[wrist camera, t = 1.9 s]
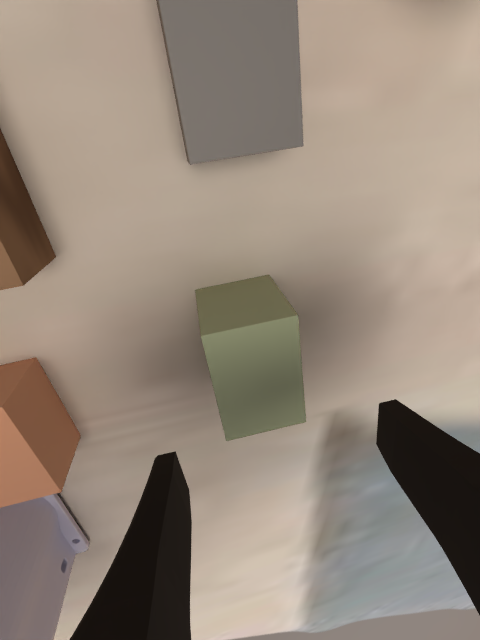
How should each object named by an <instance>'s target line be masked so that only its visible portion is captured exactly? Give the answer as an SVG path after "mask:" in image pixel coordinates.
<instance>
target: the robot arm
mask: <svg viewBox="0 0 480 640" xmlns="http://www.w3.org/2000/svg"><path fill="white" fill-rule="evenodd" d="M376 444H377V446H378V448H379V450H380V452H381V454H382V456H383V458H384V460H385V462H386V463H387V465H388V467H389V469H390V471H391V473H392V474H393V476H394V477H395V479H396V480H397V482H398V483H399V485H400V486H401V488H402V489H403V490H404V492H405V493H406V495H407V496H408V498H409V499H410V501H411V502H412V504H413V505H414V507H415V508H416V510H417V511H418V513H419V514H420V515H421V517H422V518H423V520H424V521H425V523H426V524H427V526H428V527H429V529H430V530H431V532H432V533H433V535H434V536H435V538H436V539H437V541H438V542H439V544H440V545H441V547H442V549H443V550H444V552H445V554H446V555H447V557H448V559H449V561H450V562H451V564H452V566H453V568H454V569H455V571H456V573H457V575H458V577H459V578H460V580H461V582H462V584H463V585H464V587H465V589H466V591H467V593H468V595H469V596H470V598H471V600H472V602H473V604H474V606H475V607H476V609H477V611H478V613H479V615H480V453H478V452H476V451H474V450H473V449H471V448H469V447H468V446H466V445H465V444H463V443H461V442H460V441H458V440H457V439H455V438H453V437H452V436H450V435H449V434H447V433H445V432H444V431H442V430H441V429H439V428H438V427H436V426H435V425H433V424H432V423H430V422H429V421H427V420H426V419H424V418H423V417H421V416H420V415H418V414H417V413H415V412H414V411H412V410H411V409H409V408H408V407H406V406H405V405H403V404H402V403H400V402H399V401H397V400H396V399H395V400H391V401H387V402H383V403H379V413H378V428H377V442H376ZM191 525H192V522H191V508H190V496H189V488H188V486H187V483H186V480H185V477H184V474H183V472H182V469H181V466H180V463H179V460H178V458H177V455H176V452H171V453H167V454H163V455H158V456H157V457H156V458H155V460H154V463H153V466H152V470H151V472H150V475H149V478H148V481H147V484H146V487H145V489H144V492H143V495H142V497H141V500H140V502H139V505H138V507H137V510H136V512H135V514H134V517H133V519H132V522H131V524H130V526H129V529H128V531H127V533H126V535H125V537H124V539H123V542H122V544H121V546H120V548H119V550H118V552H117V555H116V557H115V559H114V561H113V563H112V565H111V567H110V569H109V571H108V573H107V575H106V577H105V579H104V580H103V582H102V584H101V586H100V588H99V590H98V592H97V593H96V595H95V597H94V599H93V601H92V603H91V604H90V606H89V608H88V609H87V611H86V613H85V615H84V616H83V618H82V620H81V621H80V623H79V625H78V627H77V628H76V630H75V632H74V633H73V635H72V637H71V638H70V640H191V630H190V573H191ZM88 547H89V541H88V540H87V538H86V537H85V535H84V534H83V532H82V531H81V529H80V528H79V526H78V525H77V523H76V522H75V520H74V519H73V517H72V516H71V514H70V513H69V511H68V510H67V508H66V507H65V505H64V504H63V502H62V501H61V499H60V498H59V496H58V495H57V493H56V494H52V495H48V496H44V497H40V498H36V499H32V500H29V501H25V502H21V503H17V504H13V505H9V506H5V507H1V508H0V640H53V639H54V635H55V632H56V628H57V624H58V620H59V616H60V612H61V608H62V604H63V600H64V596H65V593H66V589H67V585H68V581H69V577H70V573H71V569H72V565H73V561H74V558H75V554H77V553H81V552H85V551H86V550H88Z"/></svg>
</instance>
